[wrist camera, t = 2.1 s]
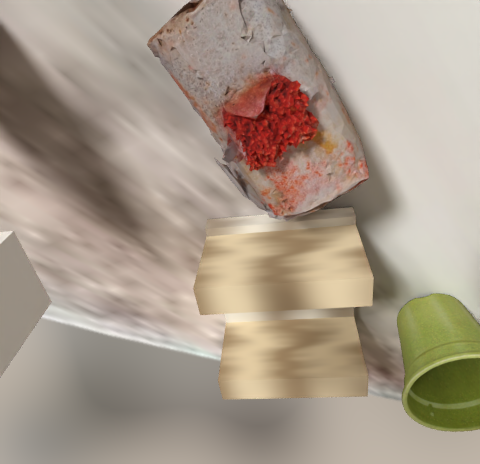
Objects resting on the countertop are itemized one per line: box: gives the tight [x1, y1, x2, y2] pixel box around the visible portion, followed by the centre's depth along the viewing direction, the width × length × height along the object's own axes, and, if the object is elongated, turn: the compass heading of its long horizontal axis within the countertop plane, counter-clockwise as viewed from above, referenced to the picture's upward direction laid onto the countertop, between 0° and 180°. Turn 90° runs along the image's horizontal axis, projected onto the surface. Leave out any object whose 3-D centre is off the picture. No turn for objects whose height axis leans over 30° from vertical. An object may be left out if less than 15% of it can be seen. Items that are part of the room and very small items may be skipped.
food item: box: [147, 0, 369, 222], centre depth 23 cm, size 14×8×10 cm, turn 37°
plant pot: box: [397, 294, 480, 432], centre depth 34 cm, size 9×9×9 cm
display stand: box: [193, 207, 374, 399], centre depth 33 cm, size 12×14×8 cm
